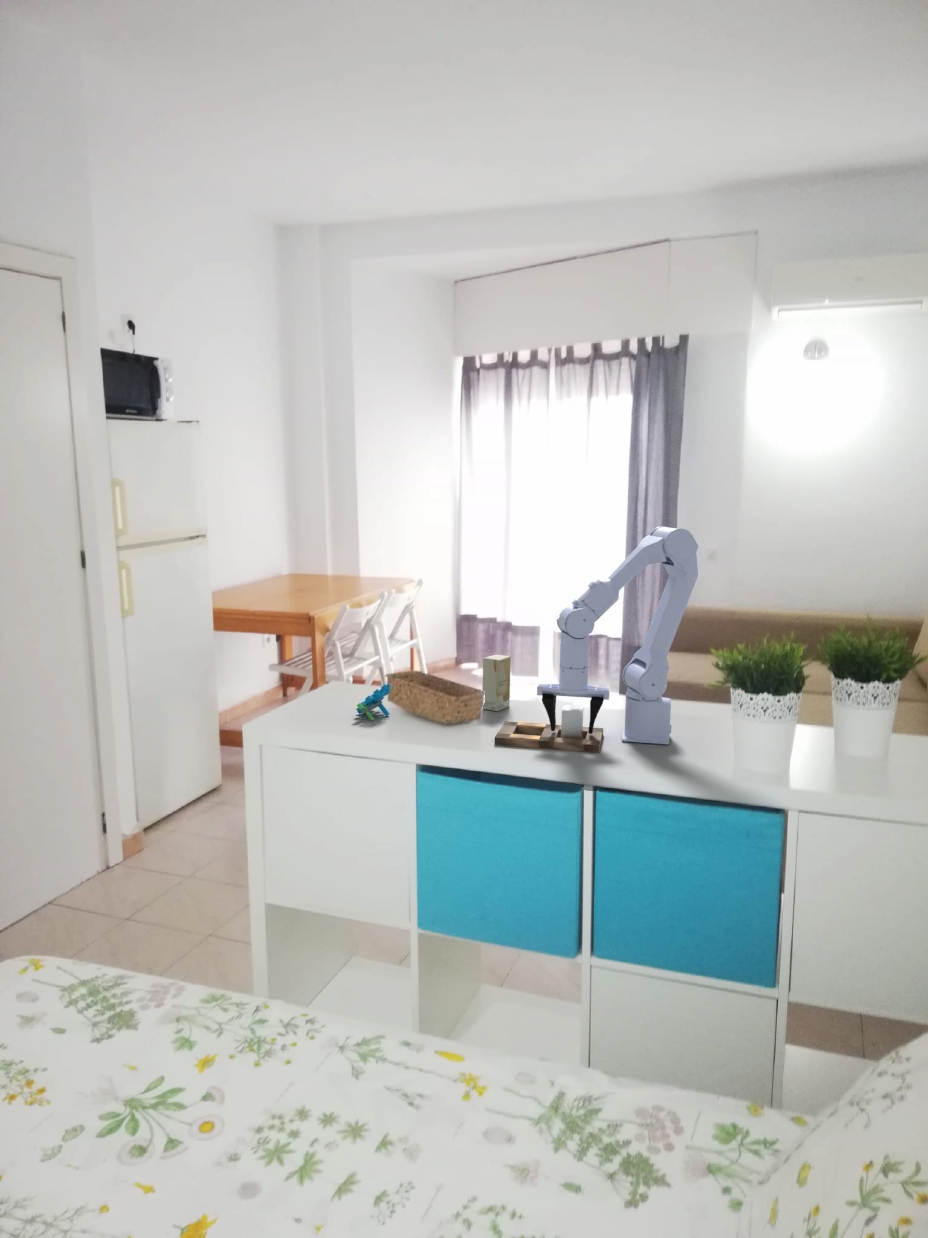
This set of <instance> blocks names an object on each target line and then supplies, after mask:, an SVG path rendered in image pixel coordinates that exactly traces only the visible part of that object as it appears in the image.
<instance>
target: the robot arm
mask: <svg viewBox="0 0 928 1238" xmlns="http://www.w3.org/2000/svg"><path fill="white" fill-rule="evenodd" d="M698 549H699V544H698V542H697V541H696V539H695V537H694V535H693V534H692V533H691V531H689V530H688V529H686V528H680V527H679V528H674V527H670V526H666V525H661V526H660V525H659V526H657V527H654V528H653V529H652V531H650V532H649V535H646V536H645V537H643V538H642V539H641V541H640V542H639V544H638V545H637V546H636V547H635V549H633V550H632V551H631V553H629V555H628V556H627V557H626V558H625V559H624V560H623V561H622V562H621V563H620V565H619V566H618V567H617V568H616V569H615V570H614V571H613V572H612V573H611V574H610V575H609V576H608V577H607V578H605V579H601V578H600V579H596V581H591V582H590V583H588V585H587V586H588V588H587V590H586V591H585V592H584V593H582V594H581V596H579V598H578V599H574V600H573V601H571V604H572V606H567V607H564V609H562V611H561V612H560V613H559V616H558V618H557V619H556V625H557V627H558V628H559V631H560V646H559V678H558V680H559V682H558V683H552V684H551V683H550V684H549V683H538V685H537V687H536V695H537V696H541V697H542V698H541V702H542V704H543V706H544V709H545V711H546V713H547V716H548V720H549V724H550V725H551V731H555V728H556V725H557V720H556V718H557V717H556V707H557V706H556V705H557V696H558V697H573V698H575V697H576V698H587V699H588V698H589V699H590V702H589V725H588V727H589V734H592V733H593V728H594V726H595V722H596V719H597V717H598V714H599V711H600V710H601V708H602V706H603V704H604V700H607V701H608V700H610V689H611V688H607V687H599V686H594V685H588V680H589V679H588V678H589V677H588V675H589V647H590V645H589V643H590V642H589V638H590V634H592V633H593V631H594V628H595V623H596V622H597V621H598V620H600V618H602V616H603V615H604V614H605V613H606V612H607V611H608V610H609V609H610V608H612V607H613V605H614V604H615V603H616V602H617V601H618V600H619V598H620V597H619V596H620V595H619V594H620V590H622V589H623V588H624V587H625V586H626V585H627V584H628V583H630V581H632V580H633V579H634V578H635V577H636V576H637V575H638V574H640V573H641V572H642V571H643V570H644V569H646V567H648V566H649V565H652V564H659V563H662V564H663V567H664V569H665V571H666V573H667V574H668V578H667V581H666V583H665V586H664V589H663V592H662V594H661V596H660V599H659V602H658V604H657V606H656V609H655V612H654V615H653V618H652V620H651V623H650V626H649V629H648V630H647V632H646V635H645V637H644V641H643V644H642V646H641V647H640V648H639V649H638V650H637V651H635V653H634V654H633V656H632V658H631V660H630V661H629V662H628V663H627V664H626V665H625V667H624V668H623V670H622V673H621V674H622V675H621V677H622V682H623V683H624V685H625V686H626V692H625V706H624V707H625V710H624V711H625V714H624V716H625V717H624V728H623V729H622V734H621V735H622V736H621V741H622V742H630V743H641V744H642V743H643V744H644V743H645V744H655V745H657V744H658V745H669V744H670V734H672V724H671V709H672V708H671V706H672V698H670V697H663V694H664V693H665V692H666V691H667V687H668V678H667V677H668V672H669V670H670V665H669V660H668V654H669V651H670V649H671V646H672V644H673V641H674V639H675V636H676V634H677V631H678V629H679V626H680V624H681V621H682V618H683V616H684V613H685V611H686V609H687V605H688V602H689V601H690V598H691V595H692V592H693V590H694V587H695V585H696V582H697V579H698V576H699V569H698V558H697V556H698V555H697V551H698Z"/></svg>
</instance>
